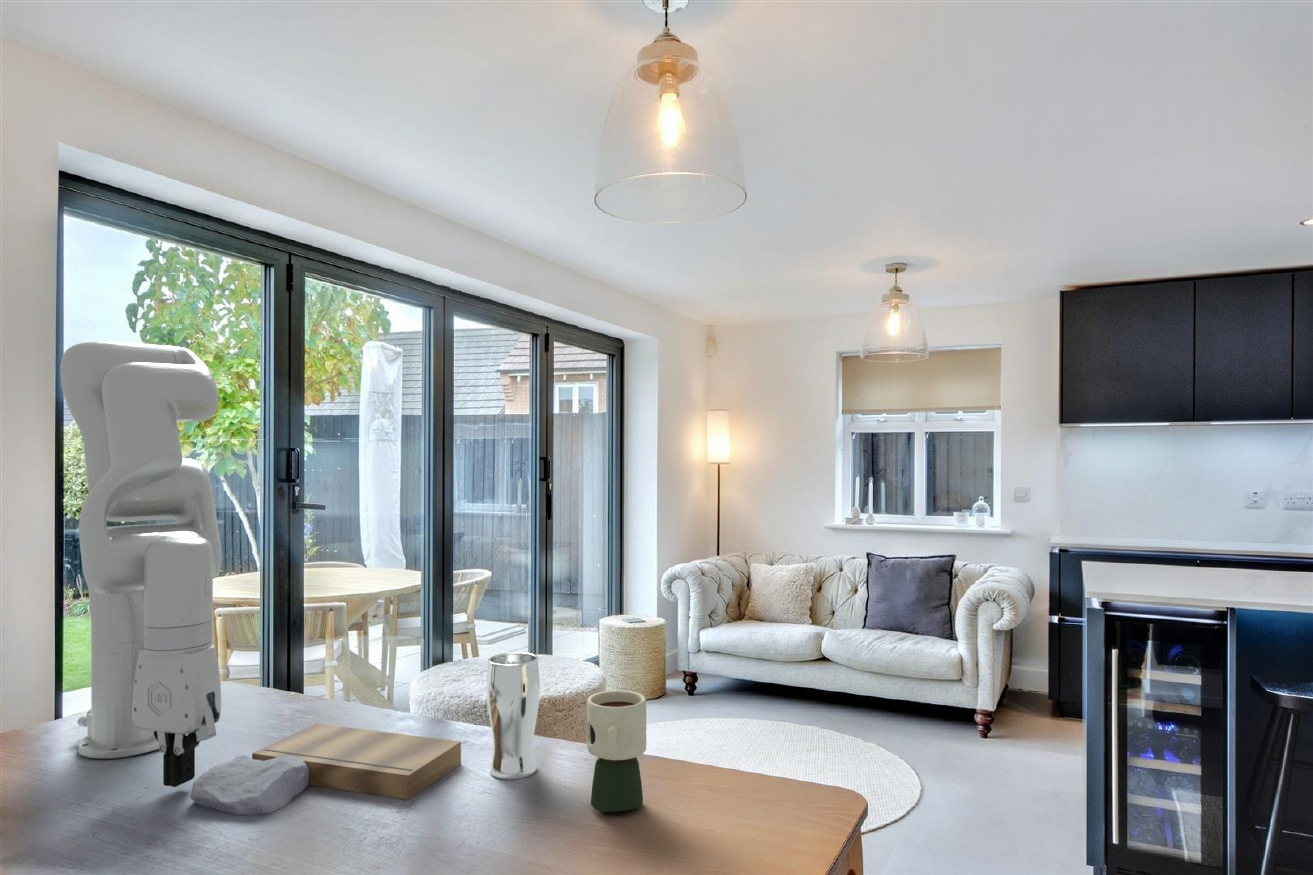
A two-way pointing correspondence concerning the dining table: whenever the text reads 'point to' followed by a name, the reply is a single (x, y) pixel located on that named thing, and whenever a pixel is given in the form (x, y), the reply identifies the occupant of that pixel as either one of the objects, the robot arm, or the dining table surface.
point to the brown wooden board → (368, 759)
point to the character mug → (616, 748)
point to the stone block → (251, 784)
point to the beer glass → (513, 713)
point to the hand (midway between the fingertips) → (179, 781)
